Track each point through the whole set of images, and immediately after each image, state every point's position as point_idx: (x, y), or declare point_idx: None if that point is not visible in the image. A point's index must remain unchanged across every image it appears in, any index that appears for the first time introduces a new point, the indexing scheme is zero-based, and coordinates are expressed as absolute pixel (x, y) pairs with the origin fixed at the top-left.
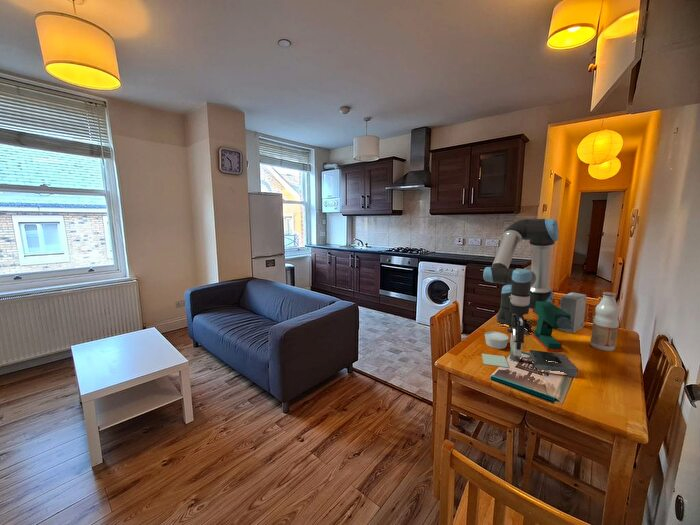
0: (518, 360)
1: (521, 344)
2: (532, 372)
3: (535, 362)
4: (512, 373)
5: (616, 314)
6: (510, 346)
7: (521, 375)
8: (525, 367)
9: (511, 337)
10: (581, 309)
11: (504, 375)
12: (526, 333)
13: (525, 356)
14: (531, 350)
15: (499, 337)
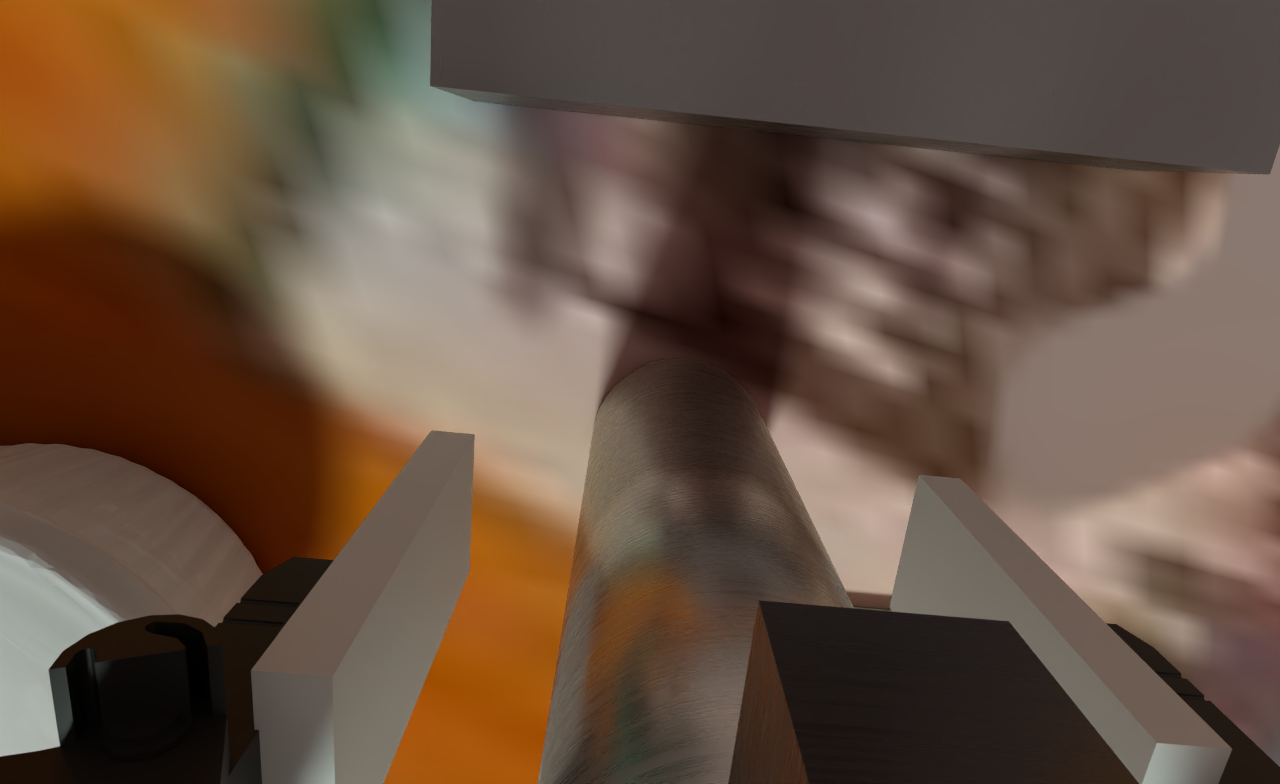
0: (753, 403)
1: (1165, 702)
2: (1153, 271)
3: (1016, 151)
4: (1189, 608)
5: None
6: (465, 577)
7: (1254, 492)
8: (970, 337)
9: (386, 764)
10: None
11: (1247, 729)
12: (1037, 742)
13: (479, 179)
14: (467, 52)
15: (13, 730)
